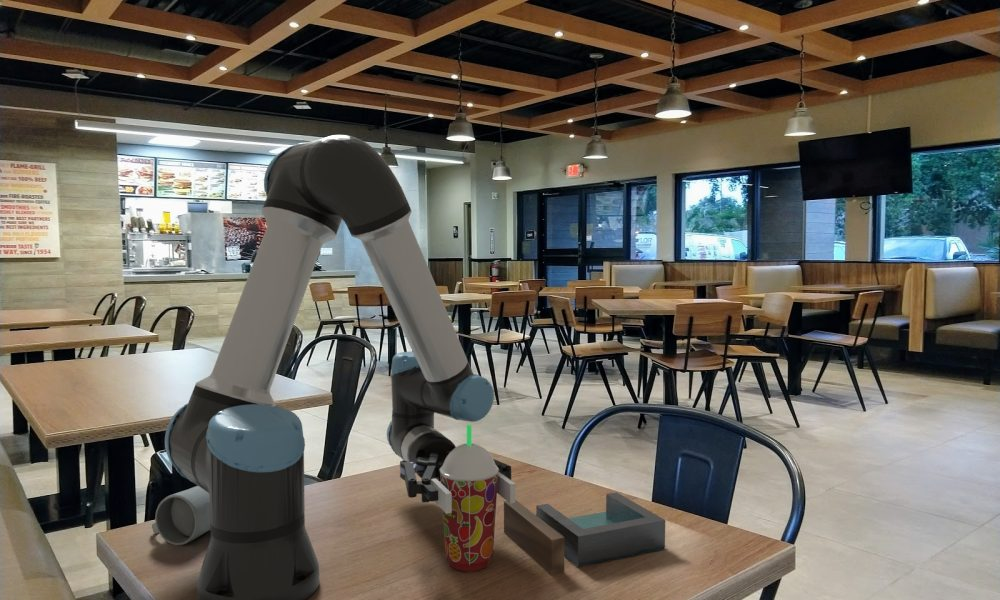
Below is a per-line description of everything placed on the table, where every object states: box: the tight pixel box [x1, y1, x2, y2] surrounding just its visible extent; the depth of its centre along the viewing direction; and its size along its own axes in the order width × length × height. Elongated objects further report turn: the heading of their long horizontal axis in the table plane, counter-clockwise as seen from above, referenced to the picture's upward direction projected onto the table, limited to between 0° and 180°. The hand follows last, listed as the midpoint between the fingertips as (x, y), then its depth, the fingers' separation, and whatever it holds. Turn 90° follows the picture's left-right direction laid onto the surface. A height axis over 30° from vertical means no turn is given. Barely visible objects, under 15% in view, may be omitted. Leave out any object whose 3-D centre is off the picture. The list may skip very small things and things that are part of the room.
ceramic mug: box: [151, 485, 210, 546], centre depth 106 cm, size 11×8×8 cm
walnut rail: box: [503, 499, 565, 576], centre depth 100 cm, size 2×16×5 cm, turn 24°
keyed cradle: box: [535, 491, 666, 568], centre depth 105 cm, size 15×15×4 cm
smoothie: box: [439, 424, 499, 573], centre depth 96 cm, size 8×8×20 cm
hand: (481, 498), depth 92 cm, fingers open, 9 cm apart
